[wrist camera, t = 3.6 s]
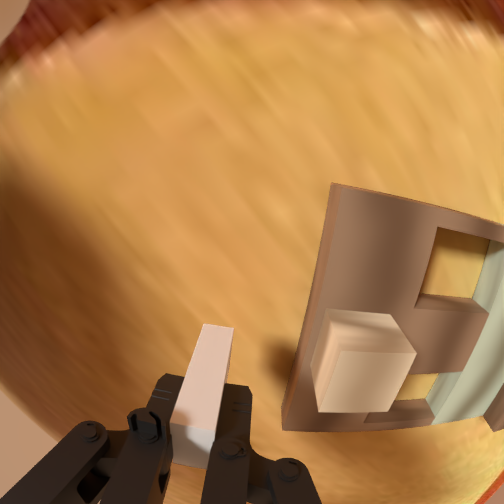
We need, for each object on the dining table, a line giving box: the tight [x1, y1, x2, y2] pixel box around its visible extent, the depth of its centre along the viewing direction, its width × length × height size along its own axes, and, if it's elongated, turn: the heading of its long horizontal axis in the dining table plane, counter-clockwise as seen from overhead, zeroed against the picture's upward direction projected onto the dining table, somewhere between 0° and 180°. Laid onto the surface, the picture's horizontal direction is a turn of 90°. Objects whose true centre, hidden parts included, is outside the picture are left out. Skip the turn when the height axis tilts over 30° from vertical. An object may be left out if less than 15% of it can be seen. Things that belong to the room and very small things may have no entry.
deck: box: [281, 183, 504, 432], centre depth 17 cm, size 22×17×5 cm
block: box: [310, 308, 417, 413], centre depth 15 cm, size 4×4×4 cm
